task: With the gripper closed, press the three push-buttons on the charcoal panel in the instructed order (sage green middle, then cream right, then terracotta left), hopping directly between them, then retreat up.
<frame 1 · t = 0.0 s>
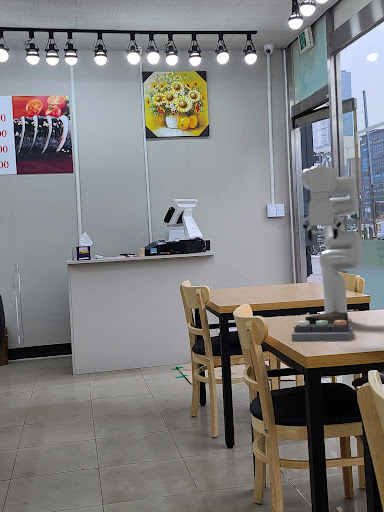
hand: (323, 239, 254), 37 cm above the table, tool pointing down, fingers open, 9 cm apart
terracotta button: (340, 323, 239), point 5 cm above the table, slide at 0.0 cm
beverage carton: (327, 330, 260), on the table
cream button: (303, 324, 244), point 5 cm above the table, slide at 0.0 cm
sage button: (321, 323, 241), point 5 cm above the table, slide at 0.0 cm
button panel: (322, 337, 241), on the table
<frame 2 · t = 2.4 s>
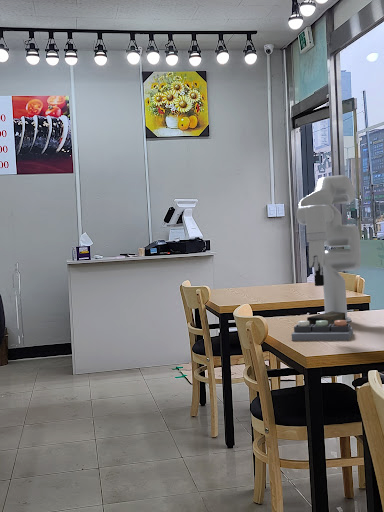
hand: (319, 285, 241), 20 cm above the table, tool pointing down, fingers closed
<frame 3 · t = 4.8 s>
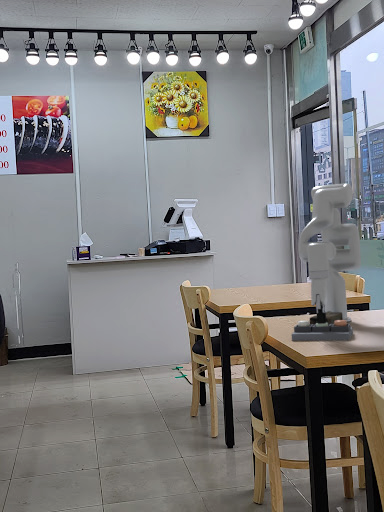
hand: (321, 323, 241), 5 cm above the table, tool pointing down, fingers closed
sage button: (322, 325, 241), point 4 cm above the table, slide at 0.8 cm, touching gripper
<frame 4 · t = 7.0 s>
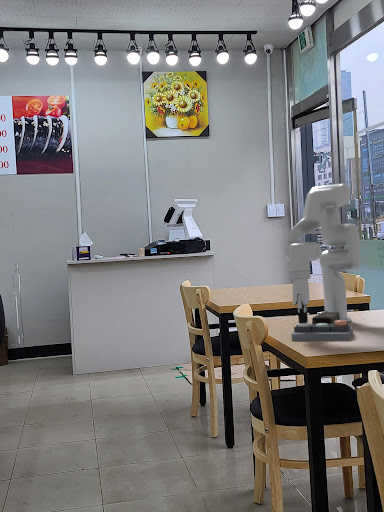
hand: (303, 322, 243), 6 cm above the table, tool pointing down, fingers closed
cream button: (303, 325, 244), point 5 cm above the table, slide at 0.5 cm, touching gripper
sage button: (322, 326, 241), point 4 cm above the table, slide at 1.1 cm
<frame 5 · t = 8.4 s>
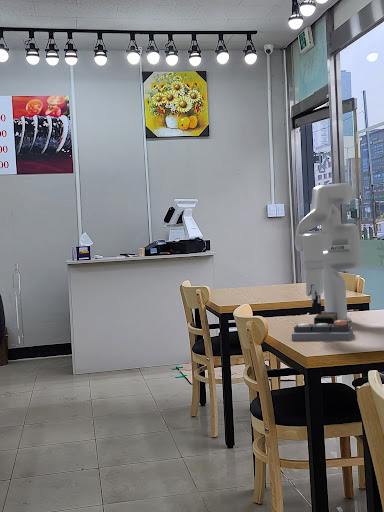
hand: (317, 313, 242), 9 cm above the table, tool pointing down, fingers closed
cream button: (303, 326, 244), point 4 cm above the table, slide at 1.1 cm
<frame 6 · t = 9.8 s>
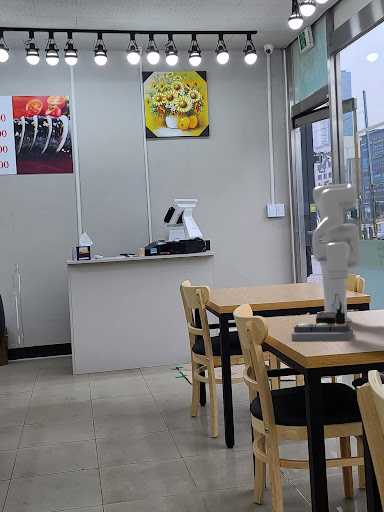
hand: (340, 323, 239), 5 cm above the table, tool pointing down, fingers closed
terracotta button: (340, 326, 239), point 4 cm above the table, slide at 1.0 cm, touching gripper
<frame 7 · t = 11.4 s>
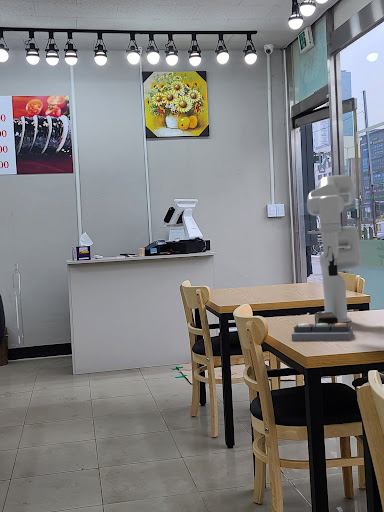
hand: (333, 275, 244), 23 cm above the table, tool pointing down, fingers closed
terracotta button: (340, 326, 239), point 4 cm above the table, slide at 1.1 cm
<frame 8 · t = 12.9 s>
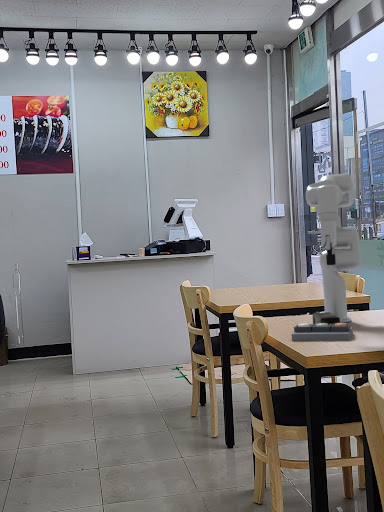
hand: (331, 264, 245), 27 cm above the table, tool pointing down, fingers closed
at the end: sage button slide at 1.1 cm; cream button slide at 1.1 cm; terracotta button slide at 1.1 cm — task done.
